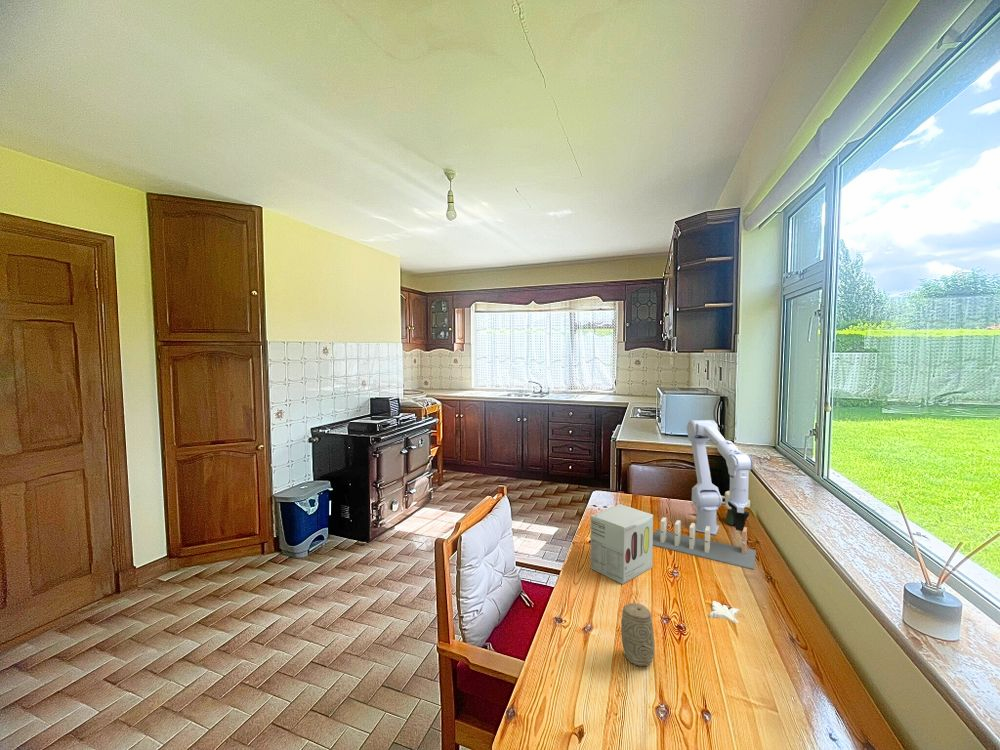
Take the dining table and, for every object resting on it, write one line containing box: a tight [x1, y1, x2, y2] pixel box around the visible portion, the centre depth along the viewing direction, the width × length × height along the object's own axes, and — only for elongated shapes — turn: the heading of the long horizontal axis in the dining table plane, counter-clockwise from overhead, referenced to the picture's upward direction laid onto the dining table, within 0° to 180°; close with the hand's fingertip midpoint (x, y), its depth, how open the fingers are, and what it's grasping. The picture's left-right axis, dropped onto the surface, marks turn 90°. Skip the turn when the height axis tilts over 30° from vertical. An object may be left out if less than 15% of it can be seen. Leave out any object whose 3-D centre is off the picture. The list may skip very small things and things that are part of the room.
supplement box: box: [590, 503, 654, 585], centre depth 137 cm, size 17×13×18 cm
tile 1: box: [659, 516, 668, 543], centre depth 156 cm, size 5×1×8 cm, turn 146°
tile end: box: [741, 526, 748, 554], centre depth 147 cm, size 5×1×8 cm, turn 146°
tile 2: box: [674, 519, 682, 546], centre depth 154 cm, size 5×1×8 cm, turn 146°
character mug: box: [721, 490, 751, 526], centre depth 171 cm, size 11×7×13 cm, turn 60°
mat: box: [653, 528, 757, 571], centre depth 151 cm, size 15×34×1 cm, turn 56°
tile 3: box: [688, 522, 696, 549], centre depth 151 cm, size 5×1×8 cm, turn 146°
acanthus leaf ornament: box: [709, 600, 740, 624], centre depth 113 cm, size 8×7×2 cm
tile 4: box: [704, 526, 711, 553], centre depth 148 cm, size 5×1×8 cm, turn 146°
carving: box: [620, 602, 655, 667], centre depth 96 cm, size 6×8×12 cm
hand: (738, 526), depth 146 cm, fingers open, 7 cm apart
